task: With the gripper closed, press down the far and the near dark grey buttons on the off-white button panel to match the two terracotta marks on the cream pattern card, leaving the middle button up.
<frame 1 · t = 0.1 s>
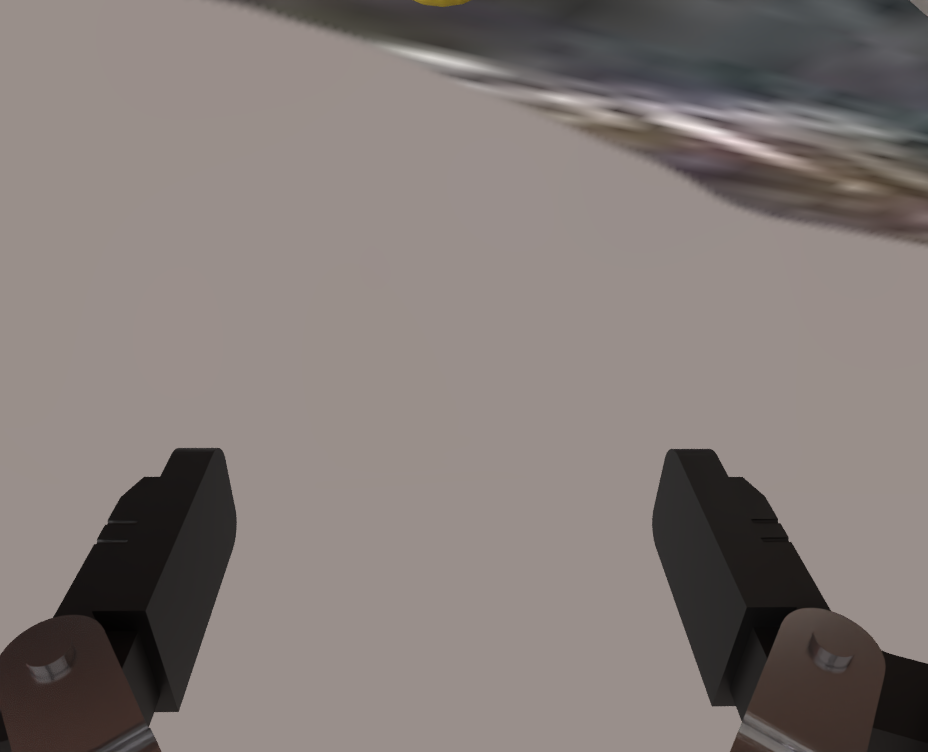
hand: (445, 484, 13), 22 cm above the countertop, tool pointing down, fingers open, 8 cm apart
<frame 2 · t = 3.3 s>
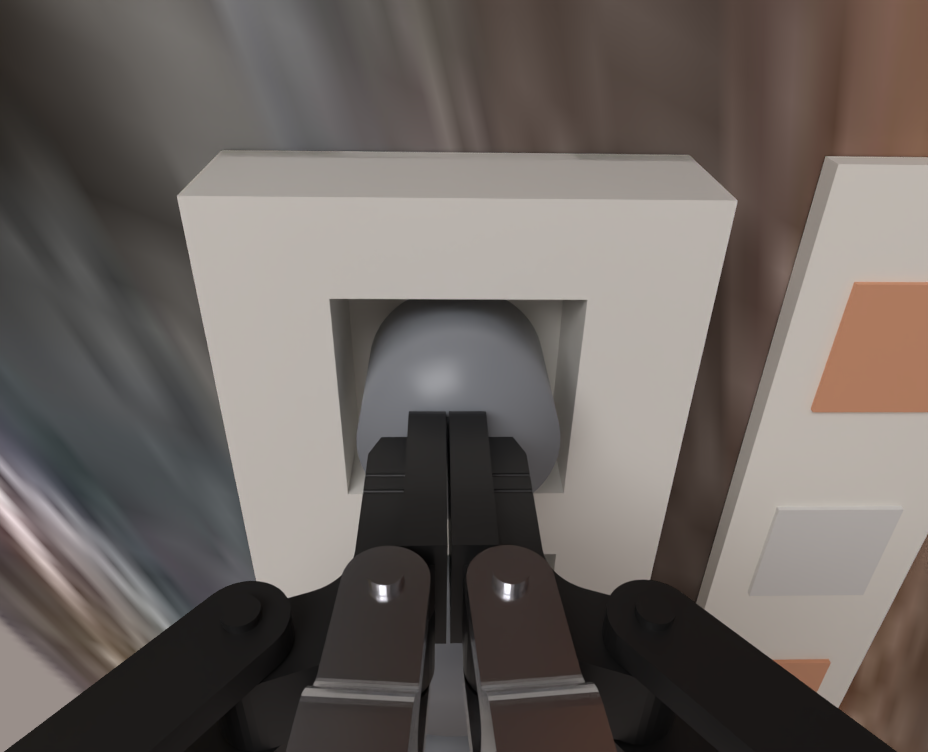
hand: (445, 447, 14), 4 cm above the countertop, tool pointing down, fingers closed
button middle: (454, 637, 18), point 4 cm above the countertop, slide at 0.0 cm
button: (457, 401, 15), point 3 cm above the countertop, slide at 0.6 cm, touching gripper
button panel: (453, 538, 21), on the countertop
pattern card: (812, 536, 22), on the countertop
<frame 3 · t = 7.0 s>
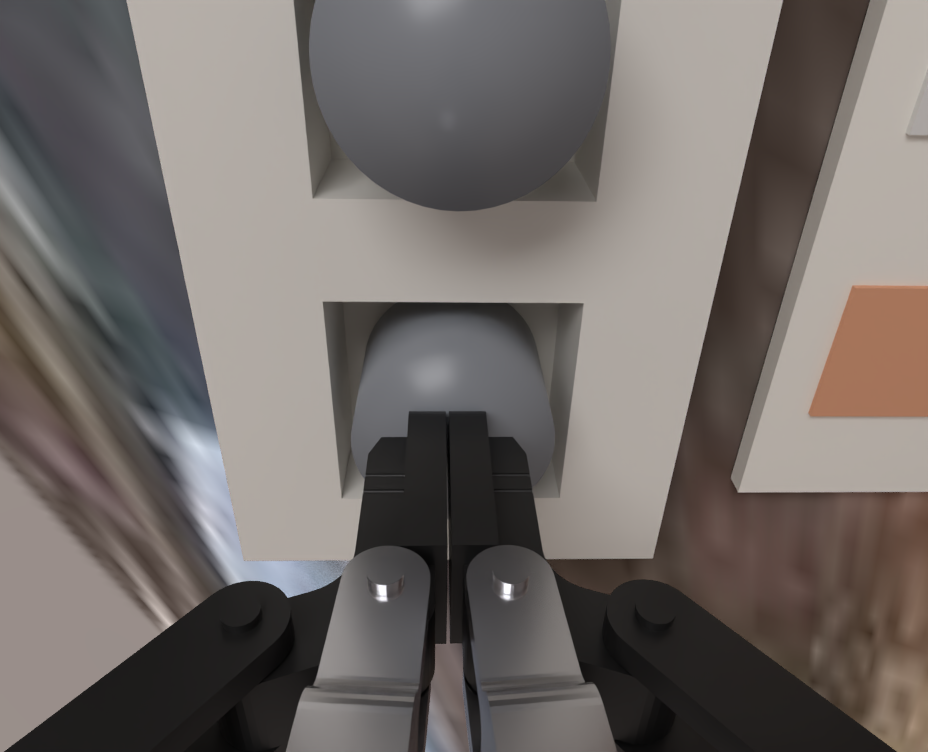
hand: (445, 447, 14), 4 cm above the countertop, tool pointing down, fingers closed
button middle: (458, 49, 11), point 3 cm above the countertop, slide at 0.0 cm
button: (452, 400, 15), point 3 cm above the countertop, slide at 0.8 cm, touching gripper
button panel: (454, 22, 14), on the countertop
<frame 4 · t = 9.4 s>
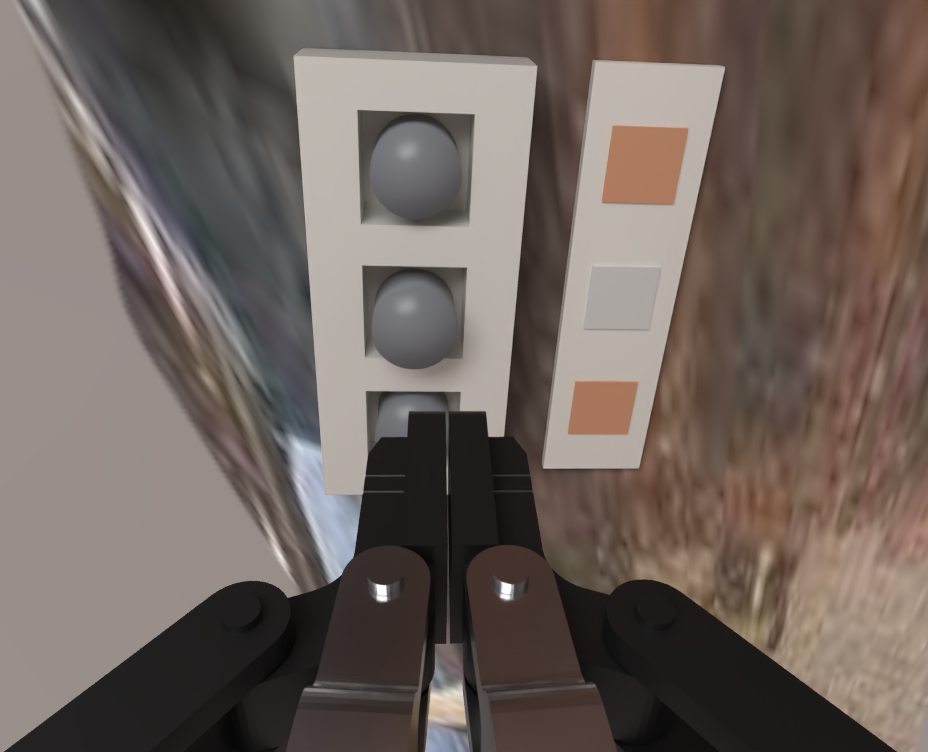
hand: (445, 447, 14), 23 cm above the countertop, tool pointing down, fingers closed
button middle: (414, 318, 34), point 3 cm above the countertop, slide at 0.0 cm
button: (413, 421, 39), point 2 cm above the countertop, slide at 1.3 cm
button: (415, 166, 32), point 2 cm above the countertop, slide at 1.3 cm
button panel: (414, 289, 37), on the countertop
pattern card: (617, 293, 38), on the countertop
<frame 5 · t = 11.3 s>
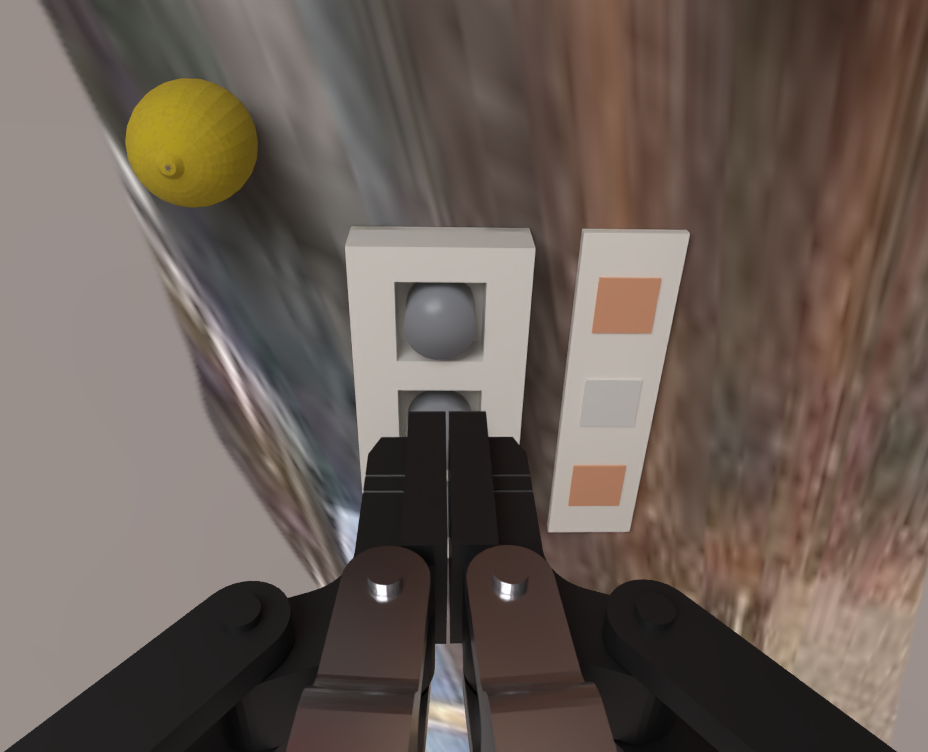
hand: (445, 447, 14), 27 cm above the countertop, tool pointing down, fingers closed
button middle: (439, 429, 43), point 3 cm above the countertop, slide at 0.0 cm
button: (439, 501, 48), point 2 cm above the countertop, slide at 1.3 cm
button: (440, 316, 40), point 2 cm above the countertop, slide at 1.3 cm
button panel: (439, 397, 46), on the countertop
lemon: (218, 122, 36), on the countertop
pattern card: (607, 397, 46), on the countertop
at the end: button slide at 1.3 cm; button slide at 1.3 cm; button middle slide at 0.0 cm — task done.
